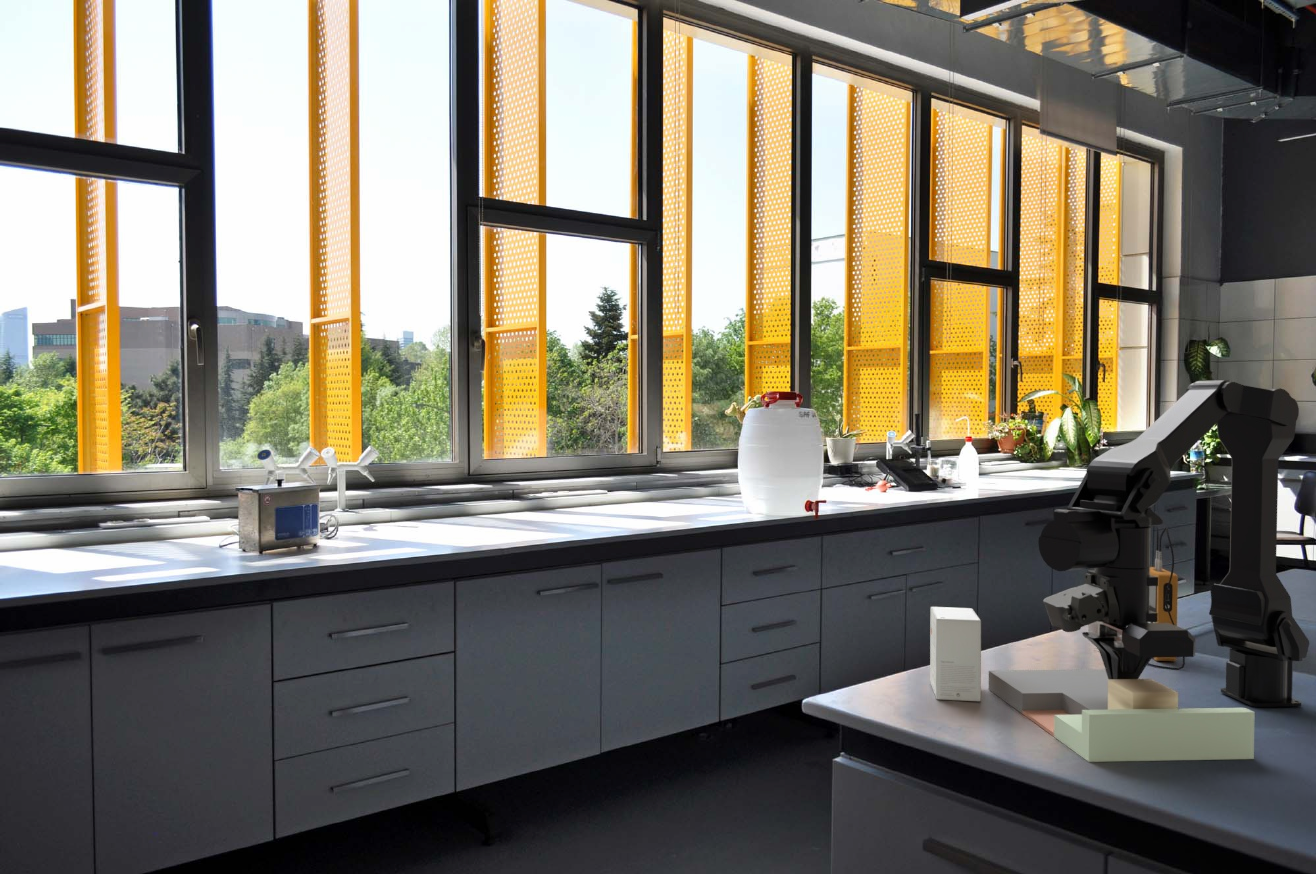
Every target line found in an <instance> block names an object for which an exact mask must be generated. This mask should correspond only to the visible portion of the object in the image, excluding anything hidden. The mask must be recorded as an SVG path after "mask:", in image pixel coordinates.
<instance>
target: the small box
mask: <svg viewBox="0 0 1316 874" xmlns="http://www.w3.org/2000/svg"><path fill="white" fill-rule="evenodd" d="M929 609H930V611H929V612H930V614H929V615H930V617H929V618H930V620H929V621H930V625H929V626H930V627H929V628H930V629H929V630H930V632H929V633H930V635H929V637H930V638H929V639H930V643H929V644H930V646H929V649H930V652H929V654H930V655H929V656H930V657H929V659H930V661H929V662H930V663H929V664H930V667H929V672H930V673H929V674H930V675H929V677H930V678H929V679H930V682H929V683H930V685H931V687H932V691H933V693H934V695H935V699H936V700H942V701H943V700H946V701H962V702H963V701H965V702H981V698H982V696H981V695H982V694H981V693H982V692H981V691H982V620H981V619H980V617H979V615H977V613H976V612H975V610H974V609H973V608H972V607H971V608H970V607H950V606H949V607H946V606H930V608H929Z"/></svg>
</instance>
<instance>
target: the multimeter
mask: <svg viewBox="0 0 1316 874" xmlns="http://www.w3.org/2000/svg"><path fill="white" fill-rule="evenodd" d="M1154 527H1155V529H1156V550H1155V559H1154V566H1150V575H1152V576H1156V577H1158V586H1150V593H1149V610H1150V611H1153V612H1156V613H1158V616H1157V622H1146V623H1170V624H1172V625H1175V626H1178V586H1179V585H1178V582H1179V577H1178V575H1177V574H1176V573H1174V569H1175V568H1174V567H1175V557H1174V556H1175V555H1174V549H1173V544H1172V541H1171V537H1170V534H1169V526H1166V527H1165V528H1164V529H1163V530H1162V532H1161V534H1159V528H1158V525H1157V526H1154ZM1164 533H1166V536H1167V539H1168V543H1169V547H1170V552H1171V561H1172V563H1171V571H1170V570H1168V569H1167V570H1166V569H1164V568H1163V559H1162V557H1163V556H1162V553H1163V552H1162V538H1163V536H1164ZM1159 535H1160V536H1159ZM1093 649H1094V650H1098V648H1097V647H1093ZM1185 658H1186V657H1182V665H1181V666H1180V667H1174V666H1173V667H1170V666H1162V665H1158V664H1157V665H1156V664H1151V663H1150V662H1149V663H1148V664H1147V665H1148V666H1151V667H1154V668H1161V669H1166V670H1183V669H1184V666H1185V664H1186V660H1185ZM1152 659H1153V660H1155V662H1156V661H1159V662H1176V661H1177V657H1153V658H1152Z"/></svg>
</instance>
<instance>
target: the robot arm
mask: <svg viewBox="0 0 1316 874" xmlns="http://www.w3.org/2000/svg"><path fill="white" fill-rule="evenodd" d="M1299 411H1300V410H1299V404H1298V402H1297V400H1296V399H1295V398H1293V396H1291V395H1290V393H1289V392H1288V391H1287V390H1286V389H1283V388H1279V387H1278V388H1277V387H1276V388H1261V387H1256V386H1255V387H1254V386H1249V385H1244V384H1242V383H1238V382H1235V381H1231V380H1230V379H1224V380H1223V379H1222V380H1221V379H1220V380H1218V379H1217V380H1215V379H1214V380H1198V381H1195V382H1193V383H1191V384H1189V385H1188V387H1186V389H1185V393H1184V394H1183V395H1182V396H1181V397H1180V398H1179V399H1178V400H1177V401H1176V402H1174V404H1172V405H1171V406H1170V407H1169V408H1168V409H1167V410H1166V411H1165V412H1164V413H1163V414H1161V416H1159V417H1158V419H1156V420H1155V421H1154V422H1153V423H1152V424H1151V425H1150V426H1149V427H1148V428H1146V429H1145V430H1144V431H1143V432H1142V433H1141V434H1140V435H1139V436H1138V437H1136V439H1133V440H1132V441H1130V442H1128V443H1124V444H1121V445H1119V446H1114V447H1112V448H1110V449H1109V450H1107V451H1105V452H1103V453H1102V454H1100V455H1099V456H1097V457H1095V458H1094V459H1092V461H1091V462H1090V464H1088V466H1087V468H1086V473H1085V475H1084V477H1083V478H1082V480H1081V482H1080V484H1079V485H1078V488H1077V489H1076V492H1075V493H1074V495H1073V497H1072V498H1071V501H1070V503H1069V504H1068V506H1067V509H1064V508H1062V509H1060V508H1059V509H1055V510H1054V511H1053V520H1051V521H1049V522H1048V523H1047V524H1046V525H1045V526H1044V527H1043V528H1042V530H1041V533H1040V536H1039V537H1038V550H1039V553H1040V556H1041V559H1042V560H1043V561H1044V563H1045V564H1046V565H1047V566H1048V567H1049V568H1051V569H1052V570H1054V571H1056V572H1066V571H1067V572H1068V571H1079V570H1087V571H1086V573H1085V574H1084V582H1083V584H1081V585H1078V586H1074V587H1071V588H1070V587H1069V588H1068V589H1065V590H1062V591H1060V592H1056V593H1055V594H1052V595H1049V596H1046V597H1044V599H1043V600H1042V601H1043V604H1044V606H1045V609H1046V612H1047V613H1046V614H1047V615H1048V619H1049V621H1050V623H1051V626H1052V627H1053V628H1054V627H1057V628H1059V629H1061V630H1062V631H1063V632H1065V633H1074V632H1077V631H1080V630H1081V629H1082V628H1083V627H1085V626H1088V628H1087V631H1083V632H1081V634H1082V636H1083V637H1084V638H1086V639H1087V640H1088V641H1089V642H1090V643H1091V644H1093V646H1094V647H1095V648H1098V649H1097V650H1098V652H1099V654H1100V658H1101V660H1102V664H1103V666H1104V669H1105V670H1106V673H1107V676H1108V679H1138V678H1140V677H1141V675H1142V673H1143V671H1144V670H1145V668H1146V667H1147V664H1148V663H1150V661H1151V660H1152V659H1154V658H1153V657H1176V658H1183V657H1185V658H1194V657H1195V656H1196V637H1195V636H1193V634H1191V632H1190V631H1189V630H1188V629H1186V628H1183V627H1180V626H1178V625H1177V626H1175V625H1172V624H1170V623H1146V622H1157V616H1158V613H1156V612H1153V611H1150V610H1149V593H1150V586H1158V577H1156V576H1152V575H1150V567H1151V527H1153V526H1154V527H1155V526H1157V527H1158V526H1162V525H1163V524H1164V520H1163V519H1162V517H1160V515H1158V514H1157V513H1156V512H1155V511H1153V509H1152V506H1154V505H1156V503H1157V502H1158V501H1159V500H1160V498H1161V497H1162V495H1163V494H1164V492H1165V491H1166V490H1167V488H1169V487H1168V486H1169V485H1170V484H1171V477H1172V476H1171V470H1172V468H1173V467H1174V465H1175V464H1176V463H1177V462H1178V461H1180V460H1181V458H1183V456H1184V455H1186V454H1187V452H1188V451H1190V450H1191V449H1192V448H1193V447H1194V446H1195V445H1196V444H1197V443H1198V442H1199V441H1200V440H1201V439H1202V438H1203V437H1205V435H1206V434H1207V433H1208V432H1209V431H1210V430H1211V429H1213V428H1214V427H1215V425H1216V429H1217V430H1216V431H1217V438H1218V439H1219V441H1220V442H1221V444H1222V445H1223V447H1224V449H1225V450H1226V452H1227V453H1228V455H1229V456H1230V459H1231V486H1230V488H1231V489H1230V490H1231V491H1230V529H1229V530H1230V533H1229V534H1230V542H1229V545H1230V546H1229V547H1230V548H1229V549H1230V550H1229V569H1228V572H1227V574H1226V575H1225V577H1224V578H1222V580H1221V582H1220V583H1219V584H1218V583H1213V584H1212V586H1211V588H1210V599H1211V601H1210V609H1209V612H1208V614H1209V616H1211V622H1212V626H1213V631H1214V634H1215V639H1216V644H1217V646H1218V647H1225V648H1228V649H1229V651H1228V652H1229V656H1228V657H1229V659H1228V660H1226V664H1225V669H1226V670H1225V687H1221V688H1220V693H1222V694H1224V695H1225V696H1227V697H1231V698H1233V699H1235V700H1237V701H1239V702H1241V703H1244V704H1245V705H1248V706H1251V707H1258V708H1263V707H1265V708H1267V707H1268V708H1269V707H1273V708H1274V707H1279V708H1280V707H1301V706H1302V705H1303V704H1302V701H1299V700H1297V699H1296V698H1293V682H1294V681H1293V678H1294V677H1293V676H1294V675H1293V674H1294V672H1293V671H1294V669H1293V668H1294V662H1303V659H1306V658H1307V655H1308V652H1309V646H1310V640H1309V639H1308V637H1307V636H1306V634H1305V633H1304V631H1303V630H1302V628H1301V627H1300V625H1299V623H1297V620H1295V618H1294V617H1293V610H1292V609H1293V607H1292V599H1291V596H1290V594H1289V592H1288V590H1287V589H1286V587H1285V586H1284V584H1283V582H1282V581H1281V580H1280V578H1279V577H1278V574H1277V547H1278V546H1277V543H1278V542H1277V539H1278V538H1277V537H1278V535H1277V533H1278V531H1277V530H1278V497H1279V496H1278V492H1279V491H1278V487H1279V460H1280V458H1281V456H1282V455H1283V454H1284V453H1285V451H1286V450H1287V449H1288V447H1289V445H1290V444H1291V443H1292V442H1293V440H1294V439H1295V433H1296V427H1297V420H1298V418H1299ZM1089 569H1090V570H1089ZM1091 569H1092V570H1091Z"/></svg>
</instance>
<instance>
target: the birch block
mask: <svg viewBox="0 0 1316 874" xmlns="http://www.w3.org/2000/svg"><path fill="white" fill-rule="evenodd" d="M1115 709H1179V692H1178V691H1176V690H1174V689H1172V688H1170V687H1168V686H1166V685H1164V684H1162V683H1160V682H1158V681H1156V680H1154V679H1152V678H1140V679H1108V710H1115Z"/></svg>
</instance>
